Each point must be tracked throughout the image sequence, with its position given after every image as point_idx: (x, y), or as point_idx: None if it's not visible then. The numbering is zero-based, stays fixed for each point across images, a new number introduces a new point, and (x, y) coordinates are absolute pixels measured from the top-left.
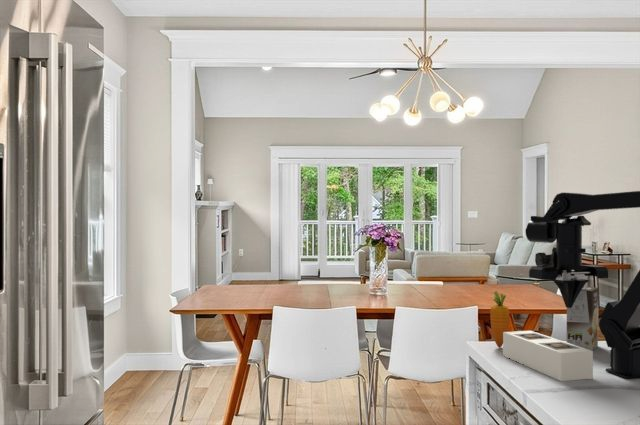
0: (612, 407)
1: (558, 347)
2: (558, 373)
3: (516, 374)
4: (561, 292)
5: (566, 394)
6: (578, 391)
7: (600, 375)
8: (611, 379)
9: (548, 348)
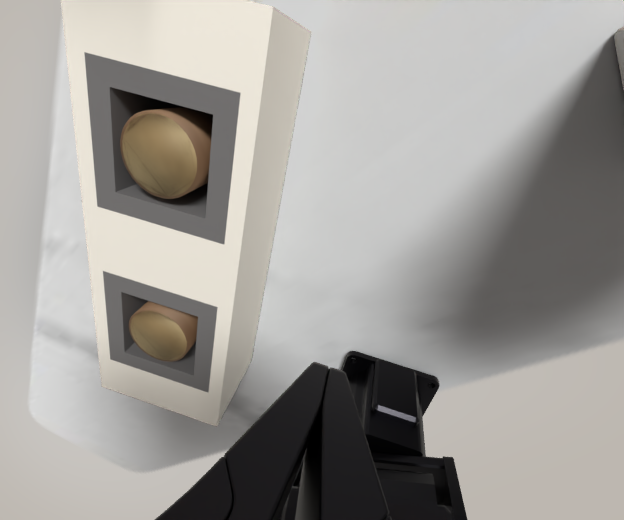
0: (143, 445)
1: (140, 347)
2: None
3: (77, 231)
4: (204, 486)
5: None
6: None
7: (298, 358)
8: None
9: (97, 336)
